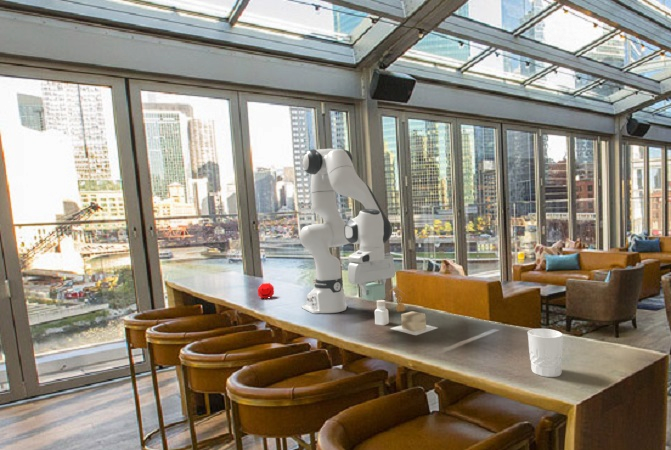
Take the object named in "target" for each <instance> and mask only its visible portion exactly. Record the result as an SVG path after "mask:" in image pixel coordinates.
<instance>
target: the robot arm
mask: <svg viewBox="0 0 671 450" xmlns="http://www.w3.org/2000/svg"><path fill="white" fill-rule="evenodd" d="M302 158H303V159H302V166H303V169H304V171H305V172H306V174H311V175H310V177H311V178H310V196H311V198H310V199H311V209H312V211H313V213H315V214H316V215H318V216H320V217H321V219H322V221H323V222H322V223H313V224H309V225H305V226H303V227H302V228H301V230H300V231H299V236H298V237H299V241H300V243H301V244H300V245H302V247H304V248H305V249H306V250H308V251H309V253H310V254H311V256H312V258H313V260H314V265H315V273H316V275H315V276H316V278H315V279H313V283H314V287H313V288H312V289H311V291H310V292H308V293H307V294H306V303H304V304H303V305H302V304H301V309H303V310H305V311H308V312H309V313H312V314H335V313H340V312H343V311H346V310H347V307H348V303H346V298H345V297H346V296H345V291H344V290H345V289H344V288H343V277H342V268H341V261H340V259H339V258H338V257H336V256H334V255H332V253H331V251H330V248H335V247H343V246H345V245H348V244H353V245H359V246H358V247H359V249H358V250H356V251H355V252H353V253H351V254H350V255H348V258H347V259H348V261H349V263H348V265H347V266H348V267H347V281H348V282H349V284H351V285H355V286H356V285H359V287H360V290H361V289H362V294H363V295H368V294H369V293H368V292H369V290H367V289H366V287H365V286H366V284H367V283H372V282H376V281H379V283H380V284H385V285H386V282H387V279H392V278H395V276H396V265H395V260H394V255H393V254H392V253H391V252H385V243H386V242H388V241H389V240H390V238H391V236H392V234H393V225H392V224H391V222H390V220H389V218H388V217H387V216H386V215H385V213H384V212H383V210H382V208H381V205H380V204H379V202H378V200H377V198H376V197H375V195H374V192H373V191H372V189H371V188H370V186H369V184H367V183H366V182H364V181H363V180H362V179H361V177H359V175H358V174H357V172H356V169H355V166H354V159H353V158H354V157H353V155H352V152H351V151H349V150H347V149H343V148H341V149H340V148H320V149H315V148H313V149H309V150H306V151H305V153H304V154H303V157H302ZM337 194H338V195H340V196H342V197H345V198H346V197H347V198H350V199H353V200H355V201H356V202H359V203H361V204H362V205H363V208H364V209H361V210H360V211H359V213H358V215H357V216H356V217H354V218H351V219H348V221H345V220H344V219H343V217H342V216H341V214H340V212H339V209H338V203H337Z"/></svg>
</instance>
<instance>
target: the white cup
mask: <svg viewBox="0 0 671 450" xmlns="http://www.w3.org/2000/svg"><path fill="white" fill-rule="evenodd" d="M527 339H528V352H529V361H530V368H531V371H532V373H534V374H535V375H538V376H541V377H547V378H556V377H560V376H561V375H562V373H563V372H562V371H563V368H562V367H563V365H562V364H563V344H564V343H563V341H564V336H563V332H560V331H558V330H555V329H549V328H532V329H531V328H530V329H529V330H528V331H527Z"/></svg>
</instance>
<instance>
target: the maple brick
mask: <svg viewBox="0 0 671 450" xmlns="http://www.w3.org/2000/svg"><path fill="white" fill-rule="evenodd" d="M400 317H401V325H402V329H406V330H410V331H414V332H415V331H418V330H421V329H424V328H426V325H427V318H426V313H423V312H418V311H415V310H414V311H408V312H405V313H401V314H400Z"/></svg>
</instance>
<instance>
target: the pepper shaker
mask: <svg viewBox="0 0 671 450" xmlns="http://www.w3.org/2000/svg"><path fill="white" fill-rule="evenodd" d="M389 320H390V319H389V310H388V309H387V308H386V300H384V299H381V300H376V309H375V310H374V324H375V325H378V326H379V325H380V326H385V325H388V324H389V322H390V321H389Z"/></svg>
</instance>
